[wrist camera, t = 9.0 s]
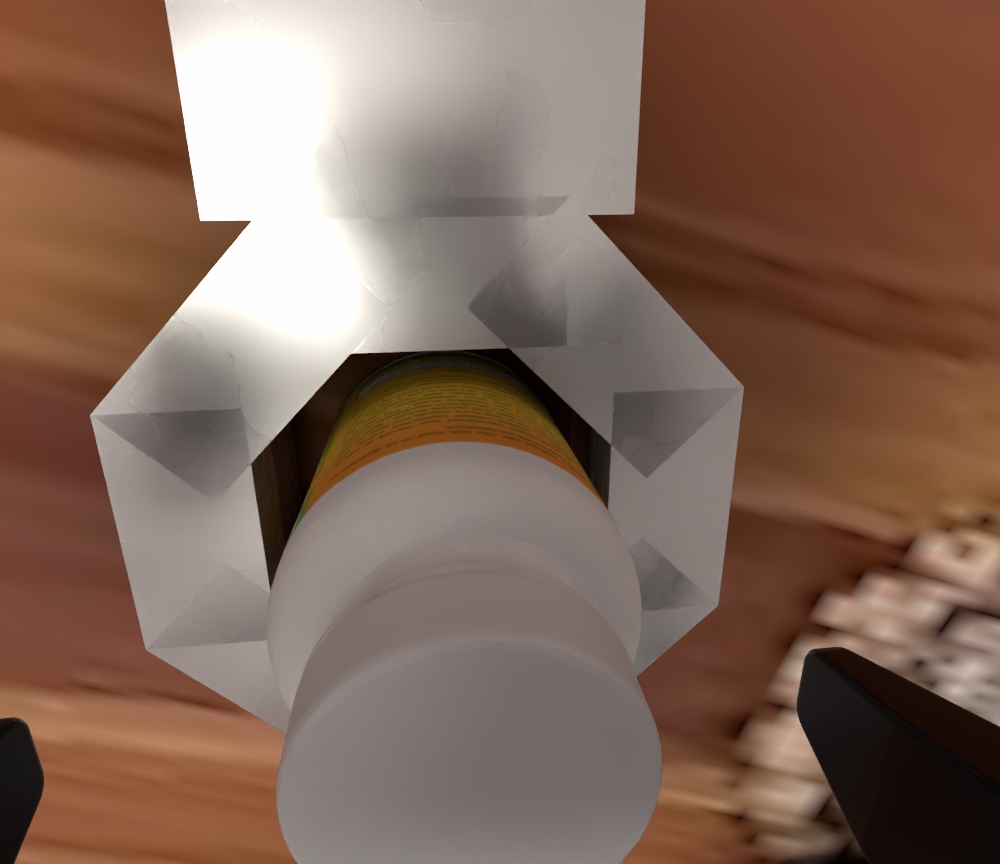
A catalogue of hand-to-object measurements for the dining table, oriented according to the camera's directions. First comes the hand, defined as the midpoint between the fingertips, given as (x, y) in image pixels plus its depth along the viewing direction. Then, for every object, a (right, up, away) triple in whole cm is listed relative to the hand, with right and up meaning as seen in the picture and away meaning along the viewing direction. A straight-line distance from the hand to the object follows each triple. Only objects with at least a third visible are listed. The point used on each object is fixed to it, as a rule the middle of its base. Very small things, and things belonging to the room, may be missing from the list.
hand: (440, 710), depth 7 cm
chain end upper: (-1, +6, +7) cm, 9 cm away
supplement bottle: (-1, +3, +8) cm, 9 cm away
